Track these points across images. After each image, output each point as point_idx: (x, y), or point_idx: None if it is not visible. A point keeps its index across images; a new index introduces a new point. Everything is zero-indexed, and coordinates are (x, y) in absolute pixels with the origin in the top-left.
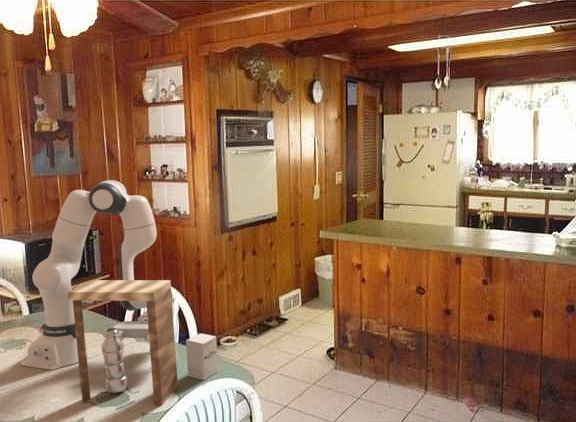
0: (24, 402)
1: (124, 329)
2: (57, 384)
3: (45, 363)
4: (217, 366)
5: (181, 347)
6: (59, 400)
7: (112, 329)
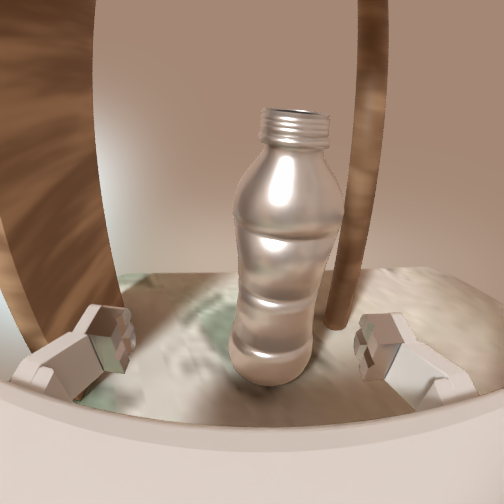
0: (460, 300)
1: (450, 407)
2: (486, 369)
3: None
4: None
5: None
6: None
7: (307, 123)
